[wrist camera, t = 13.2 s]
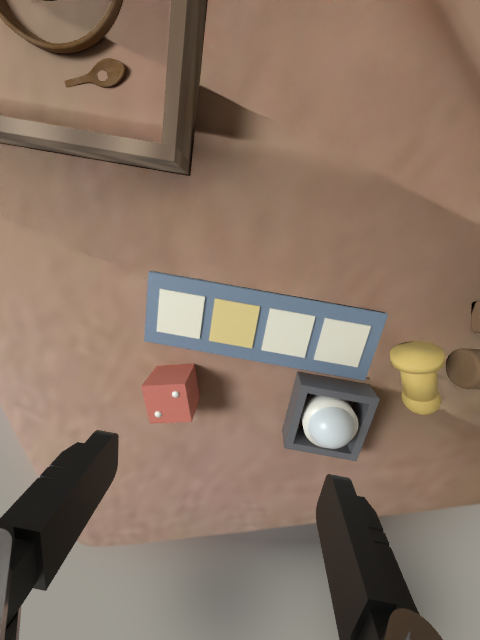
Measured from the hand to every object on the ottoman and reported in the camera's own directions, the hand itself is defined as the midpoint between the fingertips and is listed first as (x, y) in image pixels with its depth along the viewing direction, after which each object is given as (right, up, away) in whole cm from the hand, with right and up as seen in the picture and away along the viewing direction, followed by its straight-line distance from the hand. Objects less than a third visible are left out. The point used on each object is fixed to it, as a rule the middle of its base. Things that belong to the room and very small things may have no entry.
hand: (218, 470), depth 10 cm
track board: (+3, +5, +18) cm, 19 cm away
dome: (+10, -5, +20) cm, 23 cm away
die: (-6, -1, +21) cm, 22 cm away
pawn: (+18, +2, +16) cm, 24 cm away
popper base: (+10, -4, +21) cm, 24 cm away
